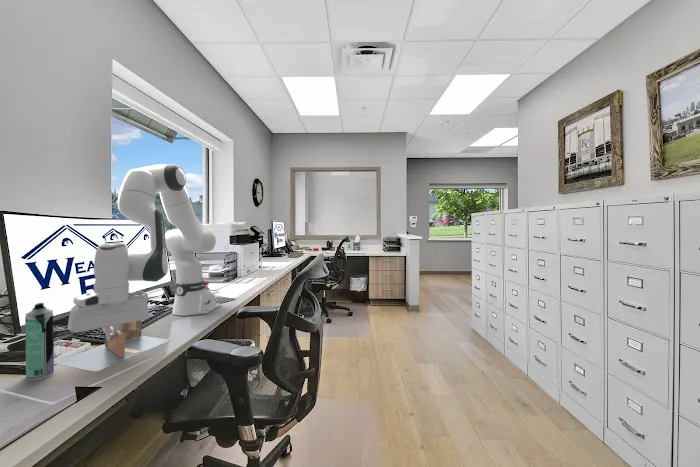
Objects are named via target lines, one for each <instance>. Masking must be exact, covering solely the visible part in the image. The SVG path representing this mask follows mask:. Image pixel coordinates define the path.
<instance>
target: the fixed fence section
mask: <svg viewBox="0 0 700 467" xmlns="http://www.w3.org/2000/svg"><path fill="white" fill-rule="evenodd" d="M119 331H120V332H122V333H124V334H125V341H128V340H131V339H134V338H136V337H140V336H141V335H142V320H139V321H134V322H129V323H124V324H120V328H119Z"/></svg>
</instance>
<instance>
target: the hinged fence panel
mask: <svg viewBox="0 0 700 467" xmlns="http://www.w3.org/2000/svg"><path fill="white" fill-rule="evenodd" d="M112 330H113V327H112V326H110V330H108V331H109V332H110V333H111V332H112ZM104 344H105V347H108V349H110V350H111V351H112V352H113V353H115V354H116V355H117V356H118V357H119V358H120V357H123V356H125V334H124V333H122V332H120V331H119V330H118V331H117V333H116V334H115V339H114V340H110V341H108V340H107V334H106V333H105V332H104Z"/></svg>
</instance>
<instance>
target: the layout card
mask: <svg viewBox="0 0 700 467" xmlns="http://www.w3.org/2000/svg"><path fill="white" fill-rule="evenodd" d="M170 341H172V339H167V338H160V337H154V336H147V335H142V334H141V336H140V337H136V338H134V339H131V340H128V341H125V356H123V357H120V358H119V357H118V356H117V355H116V354H115V353H113V352H112V351H111V350H110V349H108V347H105V343H104V344H100V345H99V346H95V347H92V348H89V349H85V350H83V351H81V352H78V353H74V354H73V355H69V356H67V357H64V359H63V358H61V359H62V360H60V359H59V360H60V361H58V360H57V361H58V362H55V361H54V365H59V366H64V367H68V368H74V369H79V370H85V371H88V372H89V371H90V372H94V373H97V372H100V371H102V370H103V369H106V368H108V367H112V366H113V365H116V364H118V363H120V362H123V361H126V360H128V359H130V358H132V357H135V356H137V355H139V354H142V353H144V352H147V351H149V350H151V349H154V348H156V347H158V346H161V345H163V344H166V343H168V342H170Z"/></svg>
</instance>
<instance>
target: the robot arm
mask: <svg viewBox="0 0 700 467" xmlns="http://www.w3.org/2000/svg"><path fill="white" fill-rule="evenodd" d="M186 177H187V176H186V172H185V171H184V170H183V168H181V167H180V165H177V164H173V163H167V164H152V165H149V166H143V167H136V168H132V169H130V170H129V171H128V172H127V173H126V175H125V176H124V179H123V182H122V184H121V186H120V189H119V190H120V191H119V194H118V198H117V209H118V211H119V212H120V214H121V215H122V216H123V217H124V218H126V219H128V220H130V221H131V222H134V223H136V224H139V225H142V226H145V227H147V228H148V229H149V237H150V250H149V251H146V252H145V251H144V252H140V251H139V252H137V251H136V252H135V251H134V252H133V251H129V250H128V245H127V244H126V243H122V242H107V243H102V244H100V245H98V246H97V248H96V251H95V255H94V263H93V274H94V275H93V276H94V279H95V280H94V284H93V290H91V291H88V292H86V293H84V294H83V293H82V294H80V295H77V296H75V297H74V298H73V304H74V306H73V307H72V308H71V310H70V312H69V316H68V323H67V324H68V325H67V328H68V330H69V331H70V332H72V333H74V334H76V333H82V332H86V331H87V332H88V331H92V330H97V329H102V331H103V332H104V334H105V333H106V334H107V340H108V341H110V340H114V339H115V334H116V333H117V331H118V330H119V328H120V324H124V323H129V322H134V321H139V320H141V321H143V320H147V318H148V317H149V306H148V302H149V295H148V293H146V292H144V291H138V292H130V291H129V290H130V286H129V285H130V282H132V281H133V282H134V281H135V282H137V281H141V282H142V281H144V282H145V281H146V282H153V283H154V282H155V283H156V282H158V281H160V280H162V279H163V278H164V277H166V275H167V274H168V270H169V263H168V256H167V250H168V251H169V252H170V254H171V257H172V259H173V261H174V265H175V283H174V290H175V294H174V301H173V307H172V309H173V310H172V313H171V314H172V315H175V316H183V317H184V316H193V315H202V314H203V315H205V314H208V313H210V312H212V311H214V310H215V309H218V308H220V307H221V306H222V305H221V303H219V302H216V296H215V294H214V293H212V292H211V291H210V290H208V289H207V288H206V286H209V284H210V281H209V280H203V264H202V263H201V262H200V261H199V260H198V259H197V257H196V256H195V254H203V253H208V252H212V251H213V250H214V248H215V246H216V242H217V239H216V236H215V234H214V233H213V232H212V231H210V230H208V228H207V227H205V225H204V224H202V222H201V221H200V220H199V218H198V217H197V215H196V213H195V210H194V208H193V205H192V202H191V199H190V196H189V193H188V190H187V188H186V186H185V185H186V182H187V178H186ZM156 194H159V197H160V200H161V204H162V207H163V209H164V213H165V215H166V218H167V221H168V222H169V223H170V224H171V225H173V226H175V227H176V228H175V229H171V230H168V231H166V232H165V222H164V217H163V214H162V212H161V211H160V210H158V209H157V208H156V203H155V202H156V196H157V195H156ZM110 326H112V327H113V330H112V332H111V333H110V332H109V331H108V330H110Z"/></svg>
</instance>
